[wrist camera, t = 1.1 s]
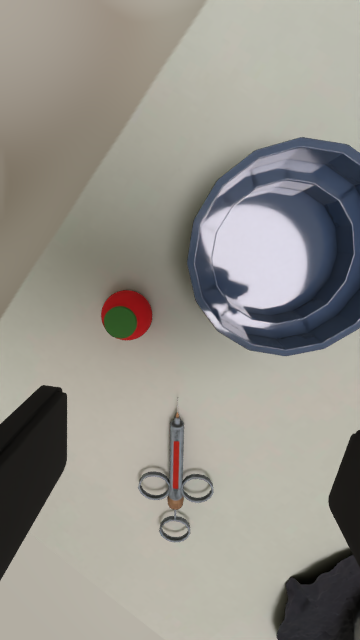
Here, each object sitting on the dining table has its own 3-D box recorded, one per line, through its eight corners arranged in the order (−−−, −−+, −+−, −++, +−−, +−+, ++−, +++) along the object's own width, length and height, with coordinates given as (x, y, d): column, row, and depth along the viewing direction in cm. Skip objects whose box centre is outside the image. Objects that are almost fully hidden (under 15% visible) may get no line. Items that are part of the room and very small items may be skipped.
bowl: (158, 236, 22) (147, 235, 17) (303, 122, 19) (340, 82, 14) (245, 358, 24) (258, 387, 19) (384, 273, 21) (439, 282, 17)
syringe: (219, 394, 25) (220, 404, 24) (209, 534, 30) (210, 551, 29) (138, 390, 26) (134, 400, 24) (141, 529, 31) (138, 546, 29)
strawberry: (101, 304, 23) (81, 316, 19) (136, 277, 23) (123, 284, 19) (129, 339, 24) (116, 358, 20) (164, 314, 23) (158, 329, 19)
